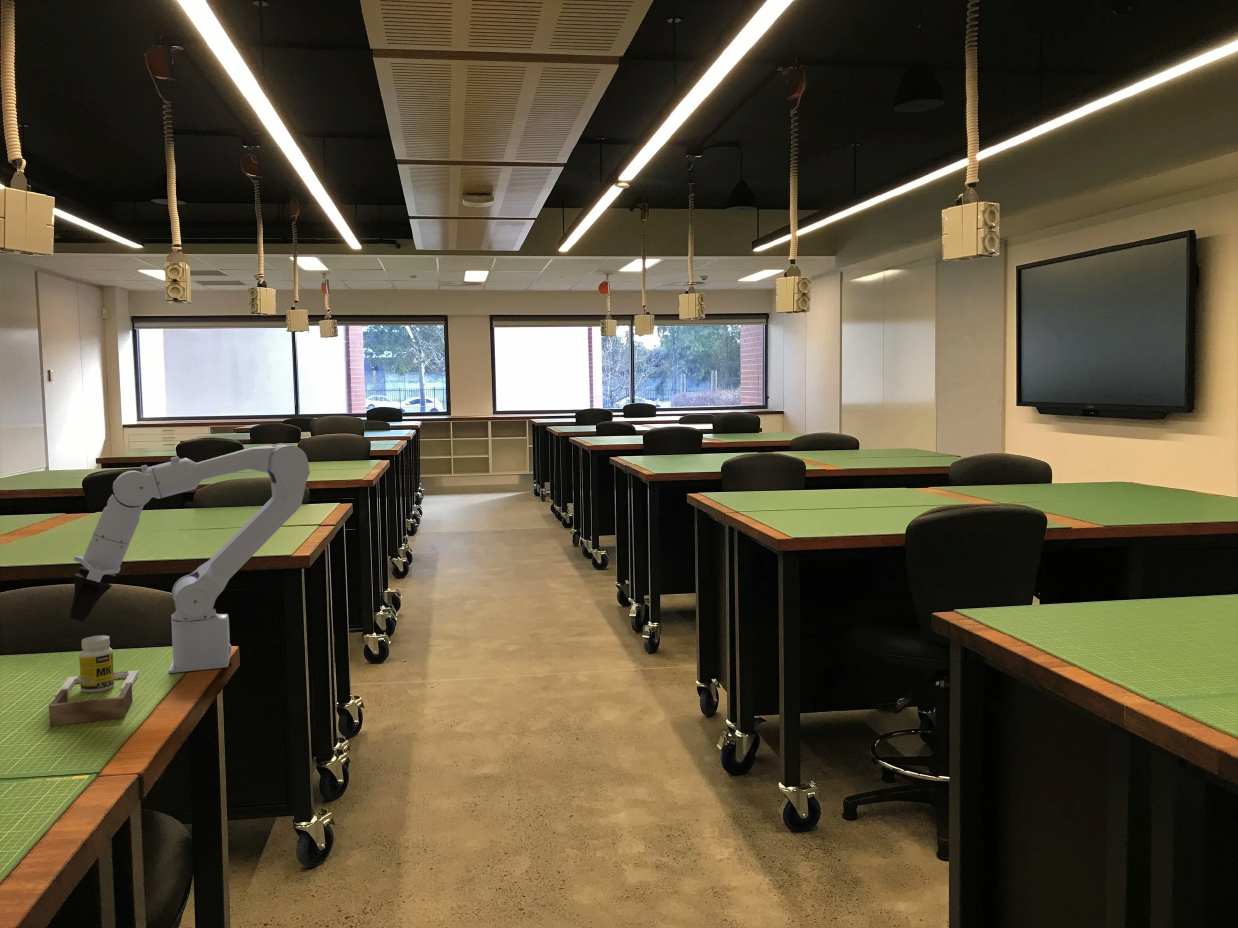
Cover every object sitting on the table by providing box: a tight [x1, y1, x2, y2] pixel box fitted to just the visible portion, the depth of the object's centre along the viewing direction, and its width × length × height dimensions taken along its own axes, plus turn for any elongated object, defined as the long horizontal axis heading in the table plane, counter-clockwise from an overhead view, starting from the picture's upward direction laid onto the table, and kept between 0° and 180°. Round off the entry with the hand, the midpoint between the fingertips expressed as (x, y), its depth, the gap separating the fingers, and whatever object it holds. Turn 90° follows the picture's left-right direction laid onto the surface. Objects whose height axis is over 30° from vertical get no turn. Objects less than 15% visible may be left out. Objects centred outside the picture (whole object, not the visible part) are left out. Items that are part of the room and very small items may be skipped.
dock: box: [54, 669, 139, 698], centre depth 147 cm, size 10×10×1 cm
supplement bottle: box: [78, 634, 115, 693], centre depth 146 cm, size 5×5×8 cm
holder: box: [48, 682, 133, 727], centre depth 135 cm, size 10×8×3 cm
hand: (79, 614), depth 149 cm, fingers open, 7 cm apart
